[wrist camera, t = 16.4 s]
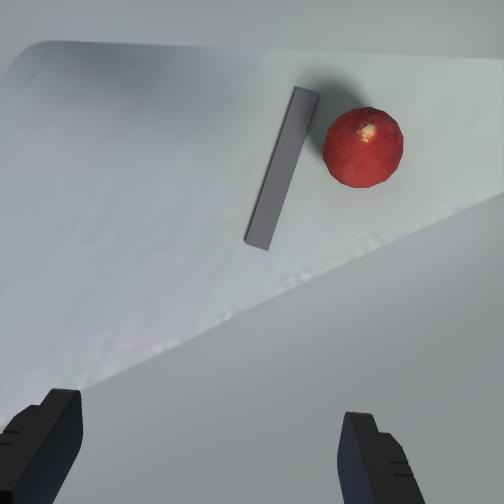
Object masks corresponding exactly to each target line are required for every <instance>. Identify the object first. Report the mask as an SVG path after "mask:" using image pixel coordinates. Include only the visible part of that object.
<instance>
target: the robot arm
mask: <svg viewBox="0 0 504 504" xmlns="http://www.w3.org/2000/svg"><path fill="white" fill-rule="evenodd" d="M82 438H83V419H82V403H81V393H80V391H79V390H69V389H56V388H53V389H52V390H50V392H49V393H48V394H47V396H46V397H45V399H44V400H43V401H42V403H41V404H40V405H30V406H28V407H27V408H26V409H24V410H23V411H21V412H20V413H18V414H17V415H16V416H14V417H13V419H12V420H11V421H10V423H9V424H8V425H7V426H6V428H5V429H4V431H3V433H2V434H0V504H53V502H54V500H55V498H56V496H57V494H58V492H59V490H60V488H61V486H62V484H63V482H64V480H65V478H66V476H67V474H68V472H69V471H70V469H71V467H72V465H73V463H74V461H75V459H76V457H77V455H78V453H79V450H80V447H81V444H82ZM337 469H338V476H339V480H340V485H341V490H342V495H343V499H344V504H425V501H424V499H423V496H422V494H421V492H420V489H419V487H418V485H417V482H416V480H415V478H414V475H413V472H412V470H411V468H410V466H409V465H408V460H407V458H406V455H405V453H404V451H403V448H402V446H401V445H400V444H399V443H398V442H397V441H396V440H395V439H394V438H393V436H392V435H391V434H390V433H382V432H379V431H378V429H377V426H376V423H375V420H374V418H373V415H372V414H369V413H356V412H346V413H345V416H344V420H343V426H342V431H341V437H340V442H339V447H338V454H337Z"/></svg>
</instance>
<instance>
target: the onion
mask: <svg viewBox="0 0 504 504" xmlns="http://www.w3.org/2000/svg"><path fill="white" fill-rule="evenodd" d="M403 138H404V137H403V135H402V133H401V130H400V128H399V126H398V123H397V122H396V121H395V120H394V119H393V118H392V117H390V116H389V115H388V114H387V113H386V112H385V111H381V110H378V109H375V108H372V107H364V108H358V109H353V110H351V111H349V112H347V113H345V114H343V115H342V116H340V117H339V118H338V119H337V120H336V121H335V122H334V124H333V125H332V126H331V127H330V128H329V130H328V133H327V136H326V138H325V141H324V145H323V159H324V161H325V164H326V166H327V168H328V170H329V172H330V174H331V175H332V176H333V177H334V178H335V179H336V180H338V181H339V182H340V183H341V184H344V185H347V186H350V187H353V188H369V187H371V186H374V185H376V184H379V183H381V182H384V181H386V180H387V179H388V178H389V177H390V176H391V175H392V174H393V173H394V172H395V171H396V170H397V167H398V165H399V162H400V160H401V157H402V154H403Z"/></svg>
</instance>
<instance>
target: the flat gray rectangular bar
mask: <svg viewBox="0 0 504 504" xmlns="http://www.w3.org/2000/svg"><path fill="white" fill-rule="evenodd" d="M318 97H319V94H318V93H314V92H310V91H306V90H302V89H298V88H296V91H295V94H294V97H293V100H292V103H291V106H290V109H289V112H288V115H287V118H286V121H285V124H284V127H283V130H282V133H281V136H280V139H279V142H278V145H277V148H276V151H275V154H274V157H273V160H272V163H271V166H270V169H269V172H268V175H267V178H266V181H265V184H264V187H263V190H262V193H261V196H260V199H259V202H258V205H257V208H256V211H255V214H254V217H253V220H252V223H251V226H250V229H249V232H248V235H247V238H246V241H245V243H246V244H249V245H252V246H255V247H258V248H261V249H264V250H267V251H268V248H269V245H270V242H271V239H272V236H273V233H274V230H275V227H276V224H277V221H278V218H279V215H280V212H281V209H282V206H283V203H284V200H285V197H286V194H287V191H288V188H289V185H290V182H291V179H292V176H293V173H294V170H295V167H296V164H297V161H298V158H299V154H300V151H301V148H302V145H303V142H304V139H305V136H306V133H307V130H308V127H309V124H310V121H311V118H312V115H313V112H314V109H315V106H316V103H317V100H318Z"/></svg>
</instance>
